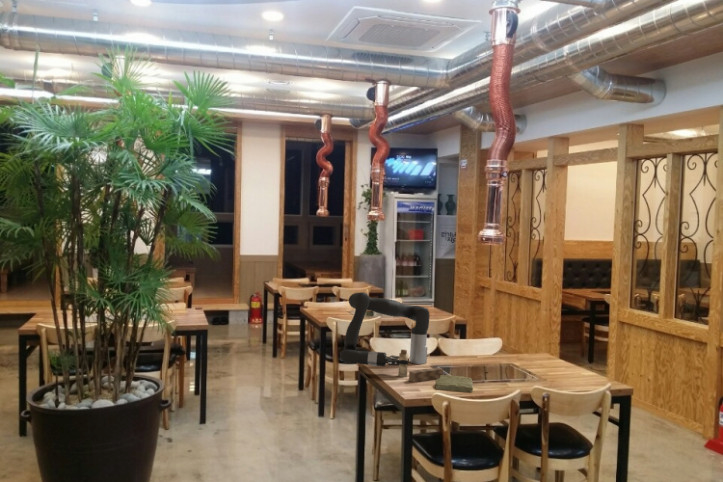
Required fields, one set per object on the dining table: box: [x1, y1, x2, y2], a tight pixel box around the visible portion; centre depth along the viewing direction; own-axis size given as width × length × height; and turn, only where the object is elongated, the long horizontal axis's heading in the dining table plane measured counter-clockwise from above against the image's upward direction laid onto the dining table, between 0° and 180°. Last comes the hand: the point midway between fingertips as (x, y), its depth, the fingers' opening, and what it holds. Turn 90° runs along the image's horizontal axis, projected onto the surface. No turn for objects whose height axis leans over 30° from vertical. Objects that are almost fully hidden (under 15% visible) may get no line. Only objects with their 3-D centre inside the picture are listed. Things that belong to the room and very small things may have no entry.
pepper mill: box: [398, 349, 409, 378], centre depth 339 cm, size 5×5×14 cm
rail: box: [408, 367, 444, 383], centre depth 334 cm, size 20×4×5 cm, turn 125°
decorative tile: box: [435, 374, 474, 393], centre depth 324 cm, size 19×20×4 cm
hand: (408, 361), depth 338 cm, fingers closed on pepper mill, 4 cm apart
